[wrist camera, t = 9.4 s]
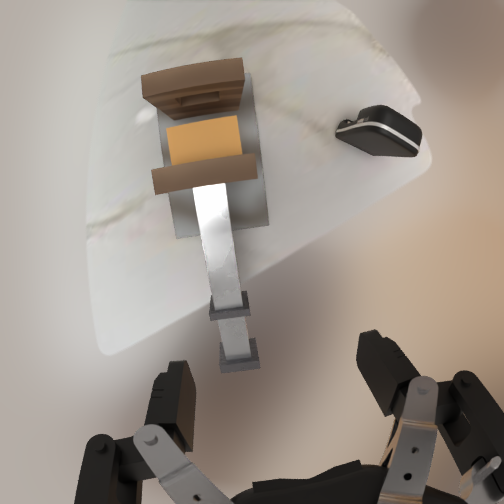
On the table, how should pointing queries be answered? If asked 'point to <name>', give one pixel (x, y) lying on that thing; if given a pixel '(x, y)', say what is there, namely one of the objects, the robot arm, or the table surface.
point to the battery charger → (381, 133)
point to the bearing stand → (217, 169)
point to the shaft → (225, 280)
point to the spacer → (204, 140)
